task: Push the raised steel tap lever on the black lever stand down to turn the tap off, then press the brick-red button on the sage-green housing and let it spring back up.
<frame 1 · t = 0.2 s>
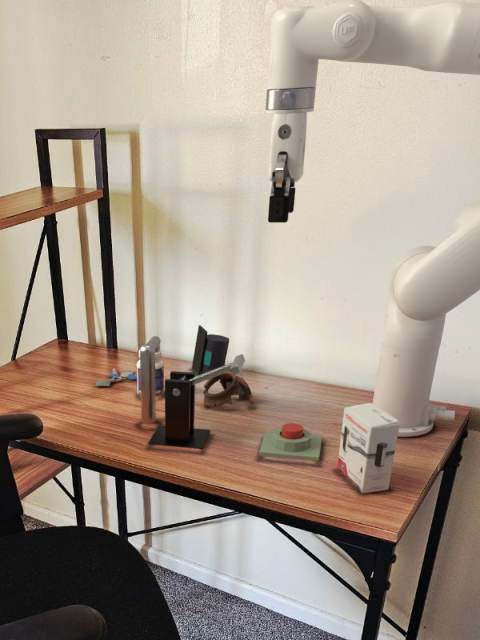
hand: (280, 217, 121), 37 cm above the table, tool pointing down, fingers open, 9 cm apart
black lever stand: (179, 442, 132), on the table
speaker: (210, 373, 162), on the table
button housing: (290, 452, 126), on the table
spout: (148, 425, 139), on the table
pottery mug: (228, 406, 145), on the table
tap lever: (206, 376, 123), point 13 cm above the table, hinge at 25.0°
key chain: (117, 378, 162), on the table
pill bottle: (150, 396, 152), on the table
ink box: (361, 481, 116), on the table
button: (292, 431, 124), point 4 cm above the table, slide at 0.1 cm
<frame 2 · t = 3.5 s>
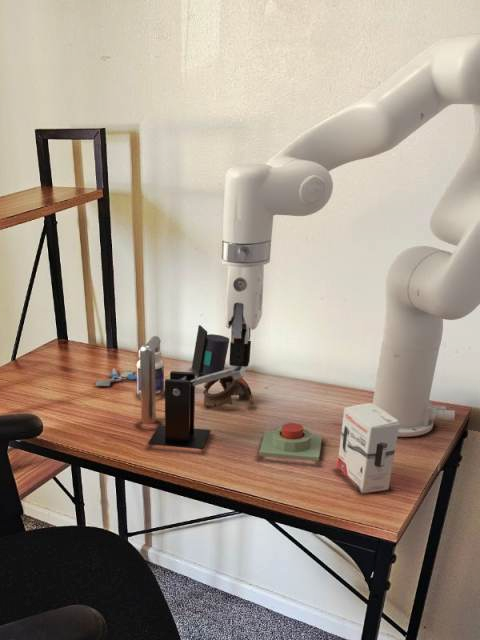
hand: (239, 364, 120), 16 cm above the table, tool pointing down, fingers closed
tap lever: (207, 378, 123), point 13 cm above the table, hinge at 20.0°, touching gripper
everything else where it was.
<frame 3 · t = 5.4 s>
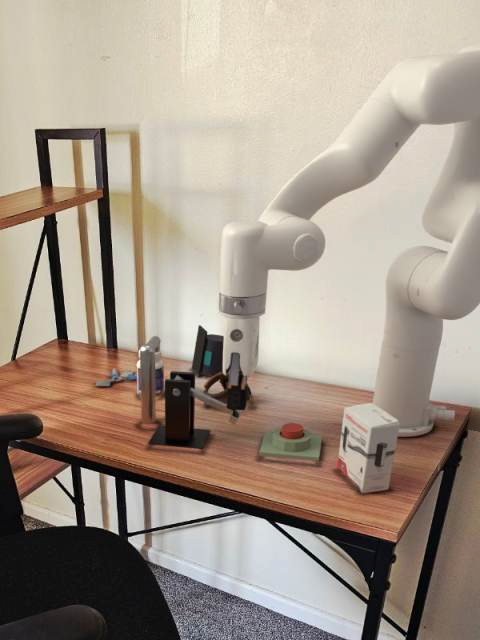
hand: (236, 407, 125), 8 cm above the table, tool pointing down, fingers closed
tap lever: (206, 398, 126), point 9 cm above the table, hinge at -23.7°, touching gripper
everything else where it was.
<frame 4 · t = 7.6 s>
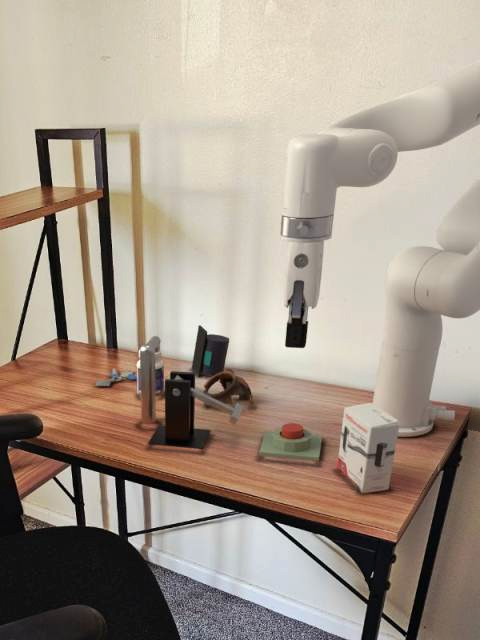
hand: (295, 345, 116), 19 cm above the table, tool pointing down, fingers closed
tap lever: (206, 398, 126), point 9 cm above the table, hinge at -23.7°
everything else where it was.
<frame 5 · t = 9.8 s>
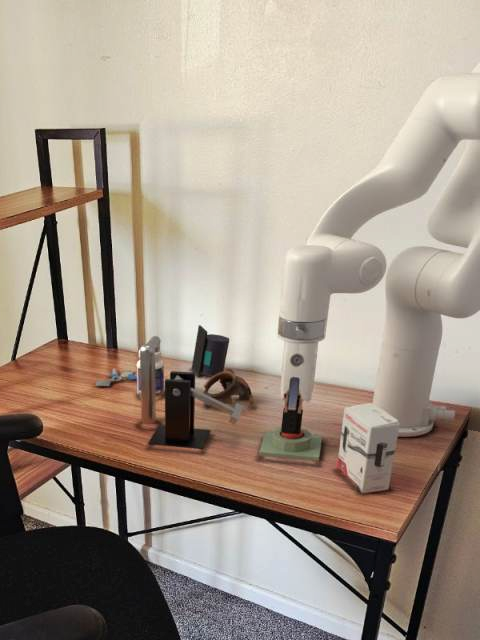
hand: (290, 431, 123), 4 cm above the table, tool pointing down, fingers closed
button: (291, 435, 124), point 3 cm above the table, slide at -0.7 cm, touching gripper
everything else where it was.
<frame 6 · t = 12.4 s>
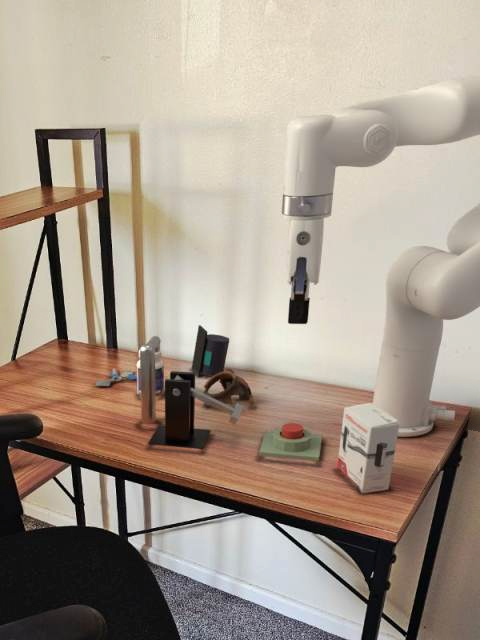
hand: (297, 322, 120), 21 cm above the table, tool pointing down, fingers closed
button: (292, 431, 124), point 4 cm above the table, slide at 0.1 cm
everything else where it was.
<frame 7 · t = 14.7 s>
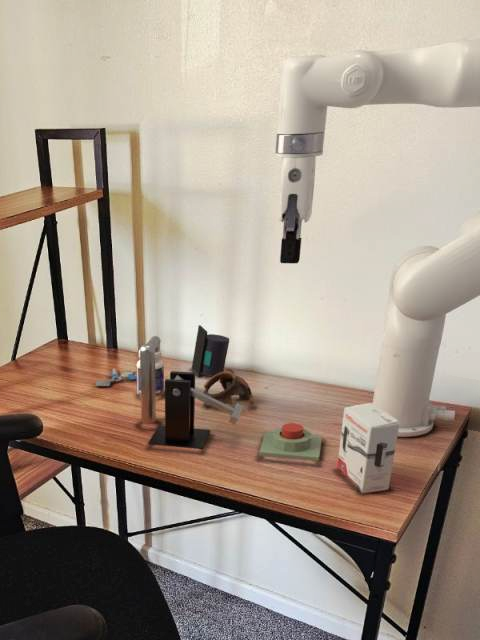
hand: (289, 262, 125), 29 cm above the table, tool pointing down, fingers closed
nothing on the table moved.
at the end: tap lever at -24° (first picture: +25°); button pushed in 1.1 cm at the most during the clip, back to where it started at the end; button slide at 0.1 cm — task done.
